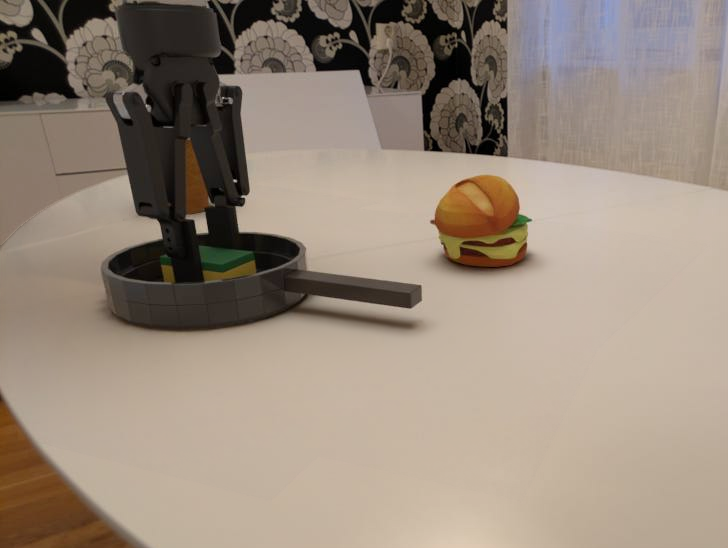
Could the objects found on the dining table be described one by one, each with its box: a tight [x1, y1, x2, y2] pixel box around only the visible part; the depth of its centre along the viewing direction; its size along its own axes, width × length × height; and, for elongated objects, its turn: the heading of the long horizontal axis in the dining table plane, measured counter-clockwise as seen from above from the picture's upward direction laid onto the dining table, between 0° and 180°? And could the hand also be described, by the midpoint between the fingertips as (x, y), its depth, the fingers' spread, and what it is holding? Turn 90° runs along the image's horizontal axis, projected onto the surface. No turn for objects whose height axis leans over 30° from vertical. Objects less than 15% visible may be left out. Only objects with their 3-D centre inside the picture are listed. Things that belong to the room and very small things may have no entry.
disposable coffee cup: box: [167, 127, 210, 215], centre depth 93 cm, size 10×10×12 cm
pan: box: [99, 231, 310, 331], centre depth 61 cm, size 17×17×4 cm
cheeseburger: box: [429, 174, 533, 268], centre depth 73 cm, size 10×11×10 cm
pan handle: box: [283, 270, 423, 310], centre depth 57 cm, size 12×2×1 cm, turn 70°
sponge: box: [160, 246, 256, 283], centre depth 63 cm, size 7×4×3 cm, turn 70°
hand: (210, 281), depth 64 cm, fingers closed on sponge, 4 cm apart
